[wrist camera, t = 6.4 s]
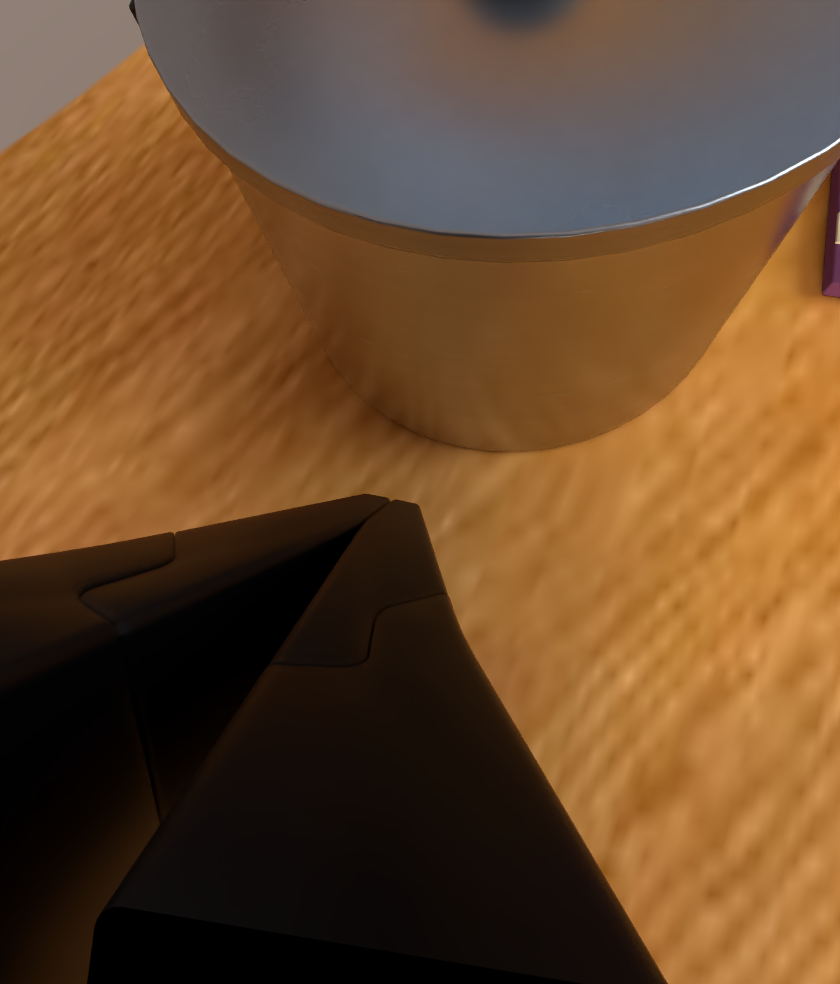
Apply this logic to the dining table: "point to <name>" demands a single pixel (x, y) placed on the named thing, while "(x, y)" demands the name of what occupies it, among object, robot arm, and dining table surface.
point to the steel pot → (512, 185)
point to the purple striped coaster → (833, 239)
